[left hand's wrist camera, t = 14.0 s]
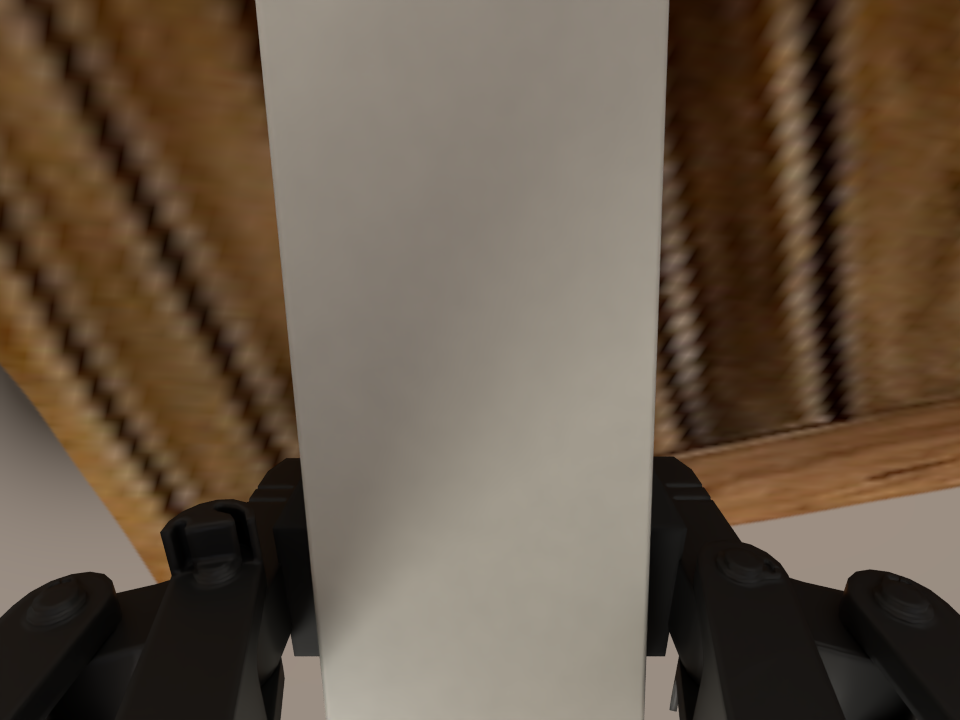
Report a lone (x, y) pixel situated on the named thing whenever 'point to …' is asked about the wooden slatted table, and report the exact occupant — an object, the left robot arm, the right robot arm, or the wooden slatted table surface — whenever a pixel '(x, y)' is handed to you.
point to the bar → (473, 344)
